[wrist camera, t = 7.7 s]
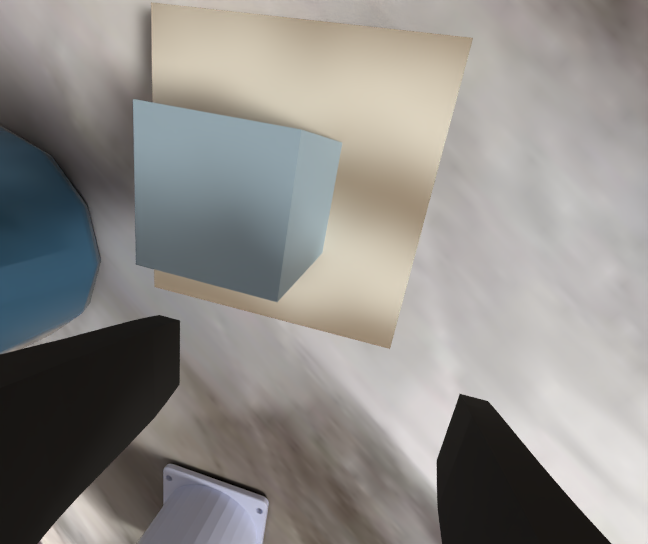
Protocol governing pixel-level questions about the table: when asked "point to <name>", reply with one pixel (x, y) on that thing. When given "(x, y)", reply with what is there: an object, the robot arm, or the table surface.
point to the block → (230, 198)
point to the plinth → (331, 122)
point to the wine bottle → (40, 246)
